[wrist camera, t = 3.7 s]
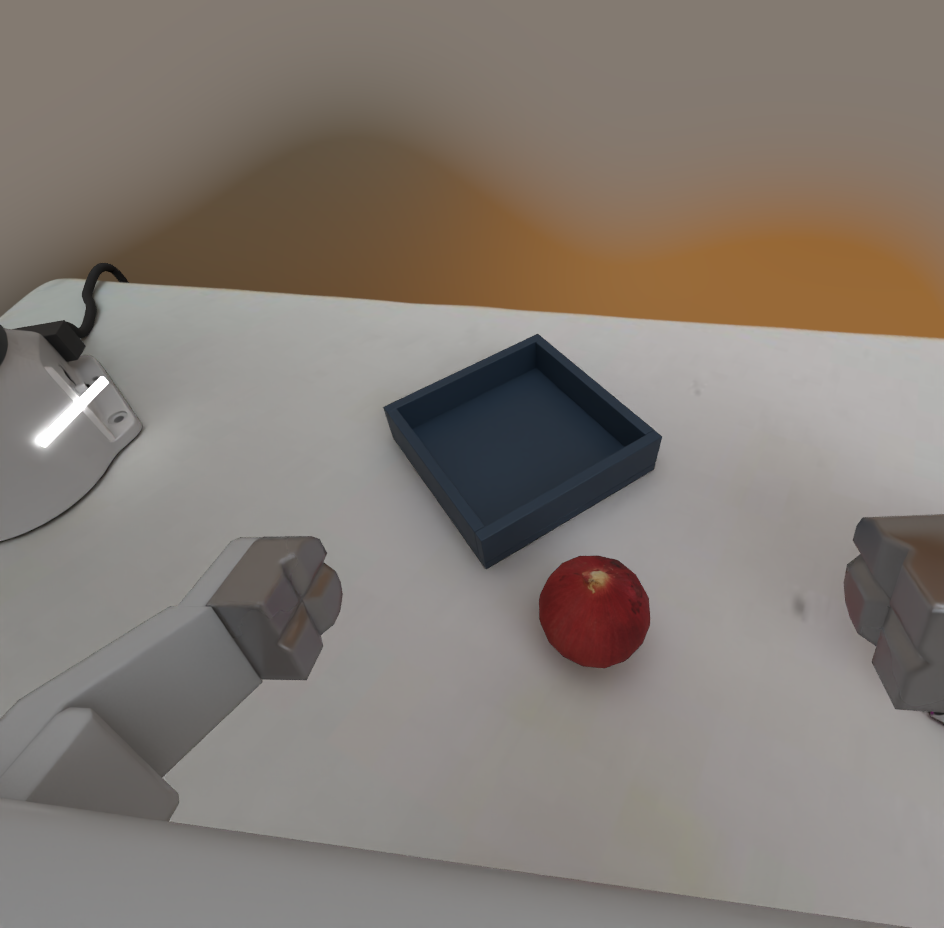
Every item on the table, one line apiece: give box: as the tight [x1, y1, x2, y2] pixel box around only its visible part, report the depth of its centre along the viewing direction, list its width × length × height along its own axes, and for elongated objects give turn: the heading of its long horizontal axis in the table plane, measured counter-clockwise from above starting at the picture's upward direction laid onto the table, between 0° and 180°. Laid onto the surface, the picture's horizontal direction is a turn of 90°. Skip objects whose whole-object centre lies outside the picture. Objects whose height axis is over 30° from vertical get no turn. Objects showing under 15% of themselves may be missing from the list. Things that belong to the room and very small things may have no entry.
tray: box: [383, 334, 662, 569], centre depth 40 cm, size 15×15×4 cm
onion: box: [539, 556, 650, 668], centre depth 28 cm, size 6×6×8 cm
